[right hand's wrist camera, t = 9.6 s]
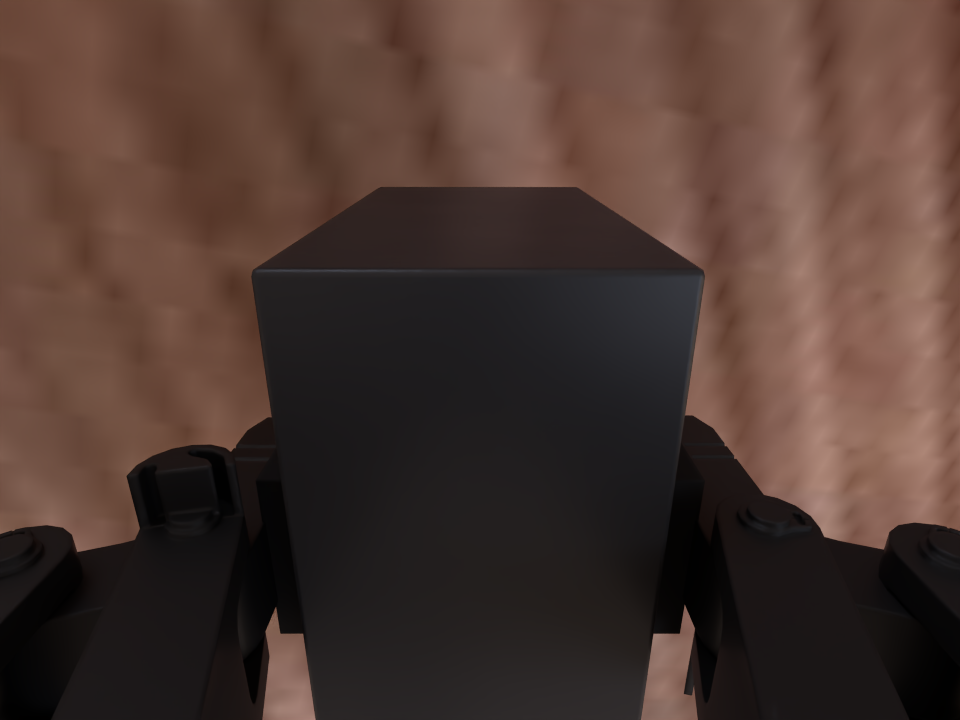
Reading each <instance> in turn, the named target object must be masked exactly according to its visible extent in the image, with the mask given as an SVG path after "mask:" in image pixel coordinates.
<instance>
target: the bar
mask: <svg viewBox="0 0 960 720" xmlns="http://www.w3.org/2000/svg"><path fill="white" fill-rule="evenodd" d="M251 277H252V284H253V291H254V298H255V305H256V311H257V318H258V325H259V332H260V339H261V346H262V353H263V360H264V367H265V373H266V380H267V387H268V394H269V401H270V408H271V415H272V422H273V429H274V435H275V442H276V449H277V456H278V463H279V470H280V477H281V484H282V491H283V497H284V504H285V511H286V518H287V525H288V532H289V539H290V546H291V553H292V560H293V566H294V573H295V580H296V587H297V594H298V601H299V608H300V615H301V622H302V628H303V635H304V642H305V649H306V656H307V663H308V670H309V677H310V684H311V690H312V697H313V704H314V711H315V718H316V720H641V715H642V708H643V701H644V694H645V688H646V681H647V674H648V667H649V660H650V653H651V646H652V639H653V632H654V625H655V618H656V611H657V604H658V598H659V591H660V584H661V577H662V570H663V563H664V556H665V549H666V542H667V535H668V528H669V521H670V515H671V508H672V501H673V494H674V487H675V480H676V473H677V466H678V459H679V452H680V445H681V438H682V431H683V425H684V418H685V411H686V404H687V397H688V390H689V383H690V376H691V369H692V362H693V355H694V348H695V342H696V335H697V328H698V321H699V314H700V307H701V300H702V293H703V286H704V279H705V275H704V271H703V270H702V269H701V268H699V267H698V266H696V265H695V264H693V263H692V262H690V261H689V260H687V259H685V258H684V257H682V256H681V255H679V254H678V253H676V252H675V251H673V250H672V249H670V248H669V247H667V246H666V245H664V244H663V243H661V242H660V241H658V240H657V239H655V238H653V237H652V236H650V235H649V234H647V233H646V232H644V231H643V230H641V229H640V228H638V227H637V226H635V225H634V224H632V223H631V222H629V221H628V220H626V219H625V218H623V217H622V216H620V215H618V214H617V213H615V212H614V211H612V210H611V209H609V208H608V207H606V206H605V205H603V204H602V203H600V202H599V201H597V200H596V199H594V198H593V197H591V196H590V195H588V194H587V193H585V192H583V191H582V190H580V189H579V188H577V187H380V188H378V189H377V190H375V191H373V192H372V193H370V194H369V195H367V196H366V197H364V198H363V199H361V200H360V201H358V202H357V203H355V204H354V205H352V206H350V207H349V208H347V209H346V210H344V211H343V212H341V213H340V214H338V215H337V216H335V217H334V218H332V219H331V220H329V221H327V222H326V223H324V224H323V225H321V226H320V227H318V228H317V229H315V230H314V231H312V232H311V233H309V234H308V235H306V236H304V237H303V238H301V239H300V240H298V241H297V242H295V243H294V244H292V245H291V246H289V247H288V248H286V249H284V250H283V251H281V252H280V253H278V254H277V255H275V256H274V257H272V258H271V259H269V260H268V261H266V262H265V263H263V264H261V265H260V266H258V267H257V268H255V269H254V270H253V272H252V276H251Z"/></svg>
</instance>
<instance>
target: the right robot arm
mask: <svg viewBox="0 0 960 720" xmlns="http://www.w3.org/2000/svg"><path fill="white" fill-rule="evenodd" d="M127 480H128V484H129V487H130V491H131V495H132V499H133V503H134V507H135V511H136V514H137V518H138V522H139V526H140V530H139V532H138V535H137V537H136V539H135V540H133V541H129V542H125V543H121V544H116V545H111V546H106V547H101V548H96V549H91V550H86V551H81V552H77V550H76V547H75V543H74V540H73V537H72V535H71V534H70V533H69V532H68V531H66V530H65V529H64V528H61V527H54V526H48V525H45V526H36V527H25V528H20V529H16V530H15V531H9V532H6V533H3V534H0V720H262V717H263V708H264V699H265V690H266V682H267V673H268V664H269V650H268V644H267V638H266V632H265V631H266V629H267V626H268V624H269V622H270V619H271V617H272V614H273V612H274V610H275V607H276V609H277V615H278V621H279V627H280V633H281V634H303V628H302V622H301V615H300V608H299V601H298V594H297V587H296V580H295V573H294V566H293V560H292V553H291V546H290V539H289V532H288V525H287V518H286V511H285V504H284V497H283V491H282V484H281V477H280V470H279V463H278V456H277V449H276V442H275V435H274V429H273V422H272V417H268V418H266V419H265V420H263V421H262V422H260V423H258V424H257V425H255V426H254V427H252V428H251V429H249V430H247V432H246V433H245V434H244V436H243V437H242V438H241V440H240V441H239V442H238V444H237V445H236V448H234V449H233V450H232V452H230V451H229V450H227V449H226V448H223V447H219V446H214V445H190V446H185V447H180V448H174V449H171V450H168V451H165V452H162V453H160V454H157V455H154V456H152V457H150V458H148V459H147V460H145V461H143V462H142V463H140V464H138V465H137V466H136V467H135V468H134V469H133V470H132V471H131V472H130V473H129V474H128V475H127ZM684 605H685V606H686V608H687V611H688V613H689V615H690V618H691V620H692V622H693V625H694V627H695V632H694V638H693V644H692V649H691V655H690V661H689V666H688V672H687V678H686V684H685V690H684V694H687V695H692V692H693V687H694V689H695V698H696V707H697V715H698V720H960V531H958V530H955V529H952V528H949V529H948V528H947V527H944V526H940V525H931V524H922V523H909V524H903V525H898V526H897V527H895V528H894V529H893V530H892V531H890V532H889V535H888V539H887V542H886V545H885V548H884V550H882V549H877V548H872V547H867V546H862V545H857V544H852V543H847V542H842V541H837V540H834V539H830V538H826V537H824V536H823V533H822V531H821V529H820V527H819V526H818V525H817V524H816V522H815V521H814V520H813V519H812V517H811V516H810V515H808V514H807V513H805V512H804V511H802V510H801V509H799V508H798V507H797V506H795V505H792V504H790V503H788V502H785V501H783V500H781V499H778V498H775V497H770V496H766V495H763V493H762V492H761V491H760V489H759V488H758V487H757V485H756V484H755V483H754V481H753V480H752V479H751V477H750V476H749V475H748V474H747V472H746V471H745V470H744V468H743V467H742V466H741V464H740V463H739V462H738V460H737V459H734V455H733V454H732V453H731V451H730V450H729V449H728V447H727V446H725V445H724V442H723V441H722V439H721V438H720V437H719V435H718V434H717V433H716V432H715V430H714V429H713V428H712V427H710V426H708V425H707V424H705V423H704V422H702V421H700V420H699V419H697V418H696V417H694V416H685V418H684V425H683V431H682V438H681V445H680V452H679V459H678V466H677V473H676V480H675V487H674V494H673V501H672V508H671V515H670V521H669V528H668V535H667V542H666V549H665V556H664V563H663V570H662V577H661V584H660V591H659V598H658V604H657V611H656V618H655V625H654V632H653V634H680V629H681V623H682V617H683V611H684Z"/></svg>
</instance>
